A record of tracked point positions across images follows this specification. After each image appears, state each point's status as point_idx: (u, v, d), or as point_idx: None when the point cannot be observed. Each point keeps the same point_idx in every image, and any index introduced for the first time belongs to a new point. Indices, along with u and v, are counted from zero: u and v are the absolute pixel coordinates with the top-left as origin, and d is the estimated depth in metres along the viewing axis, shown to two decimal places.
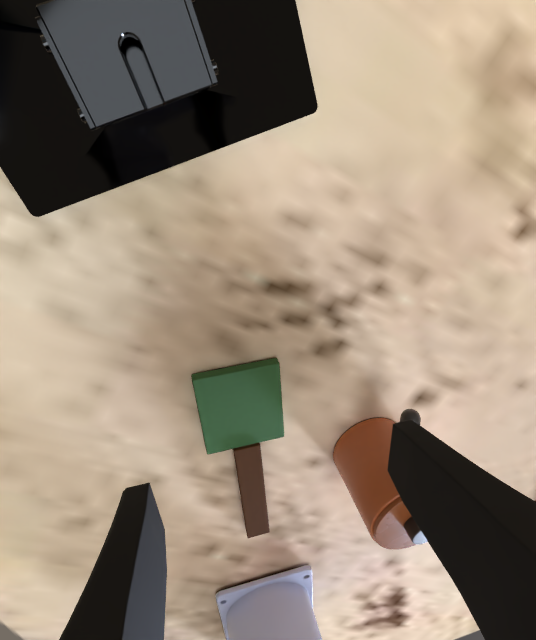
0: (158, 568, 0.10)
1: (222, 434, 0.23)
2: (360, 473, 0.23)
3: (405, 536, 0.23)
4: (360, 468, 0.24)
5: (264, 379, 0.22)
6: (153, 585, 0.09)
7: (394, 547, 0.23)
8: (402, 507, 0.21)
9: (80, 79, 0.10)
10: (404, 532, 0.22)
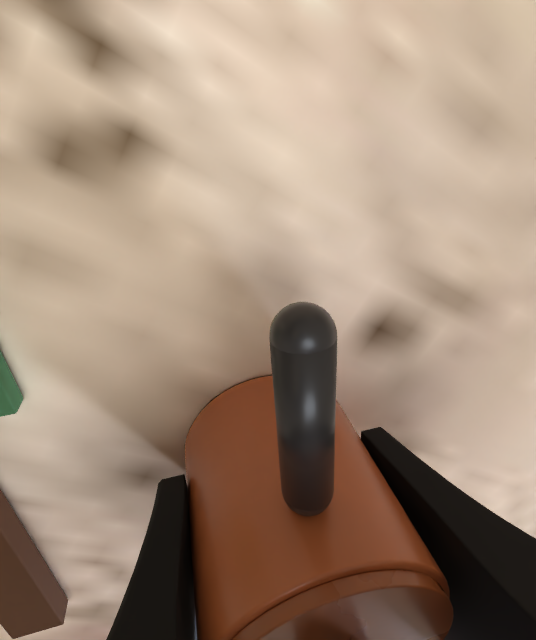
0: None
1: None
2: (204, 512, 0.09)
3: None
4: (206, 498, 0.09)
5: None
6: (192, 574, 0.09)
7: None
8: (287, 638, 0.06)
9: None
10: None
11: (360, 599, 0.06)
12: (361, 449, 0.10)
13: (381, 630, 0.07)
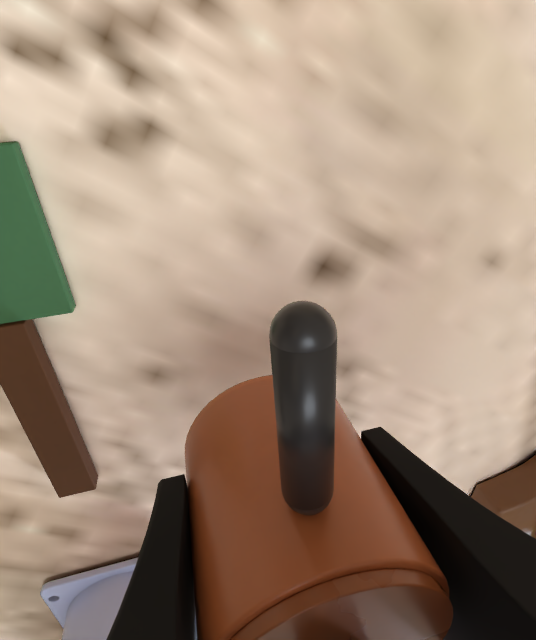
0: None
1: None
2: (204, 511, 0.09)
3: None
4: (206, 497, 0.09)
5: None
6: (192, 574, 0.09)
7: None
8: (287, 637, 0.06)
9: None
10: None
11: (360, 598, 0.06)
12: (361, 448, 0.10)
13: (381, 629, 0.07)
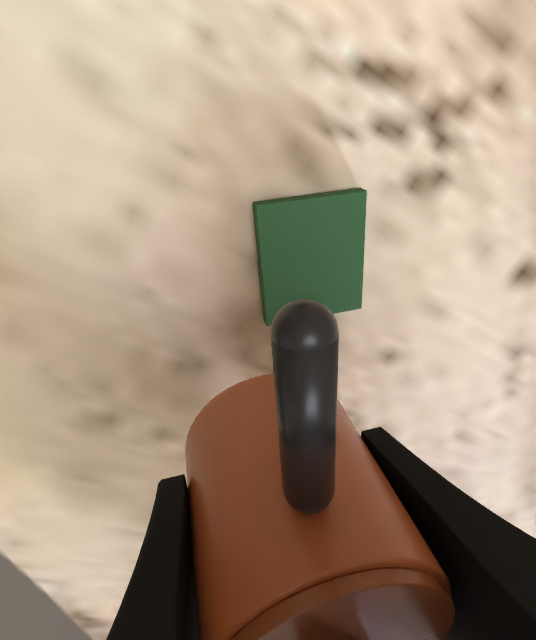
0: None
1: (287, 296, 0.18)
2: (204, 510, 0.09)
3: None
4: (207, 496, 0.09)
5: (346, 214, 0.16)
6: (192, 574, 0.09)
7: None
8: (288, 636, 0.06)
9: None
10: None
11: (361, 597, 0.06)
12: (362, 447, 0.10)
13: (382, 628, 0.07)
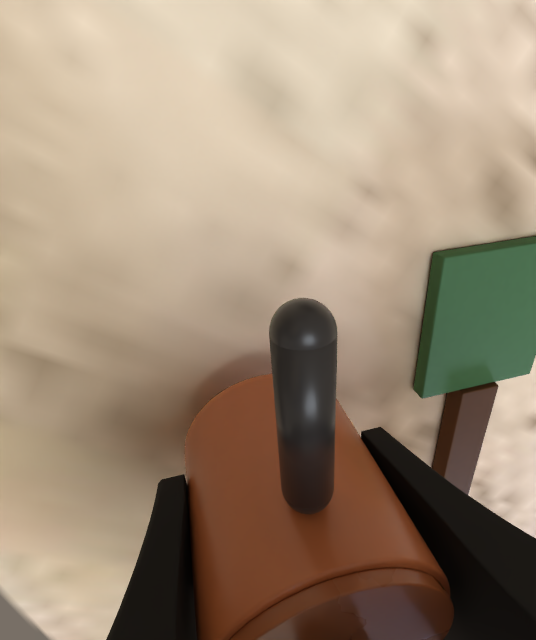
0: None
1: (452, 364, 0.14)
2: (203, 510, 0.09)
3: None
4: (206, 496, 0.09)
5: None
6: (192, 574, 0.09)
7: None
8: (287, 636, 0.06)
9: None
10: None
11: (360, 597, 0.06)
12: (361, 447, 0.10)
13: (381, 629, 0.07)
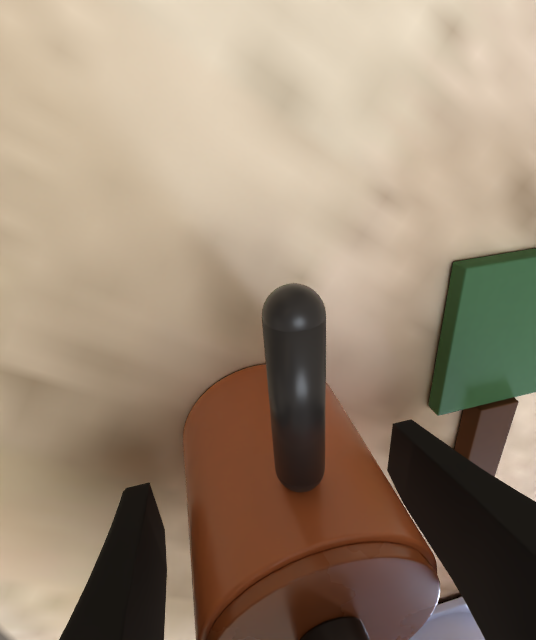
0: (158, 568, 0.10)
1: (471, 379, 0.13)
2: (201, 492, 0.09)
3: None
4: (204, 479, 0.09)
5: None
6: (153, 586, 0.09)
7: None
8: (279, 606, 0.07)
9: None
10: None
11: (348, 569, 0.07)
12: (353, 433, 0.10)
13: (370, 601, 0.07)
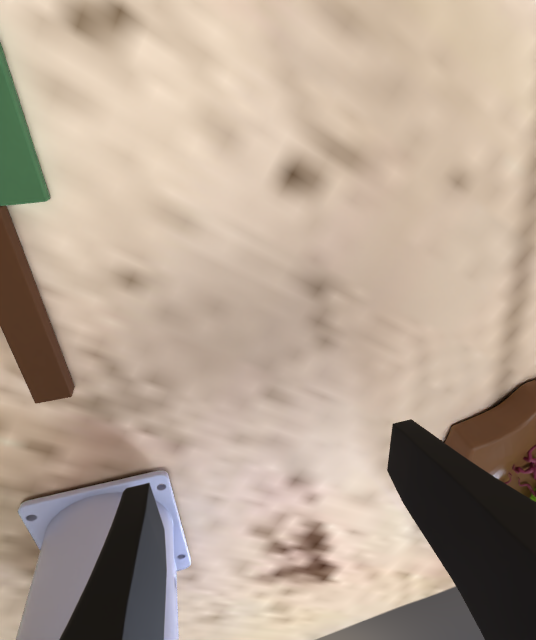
0: (158, 568, 0.10)
1: None
2: None
3: None
4: None
5: None
6: (153, 585, 0.09)
7: None
8: None
9: None
10: None
11: None
12: None
13: None
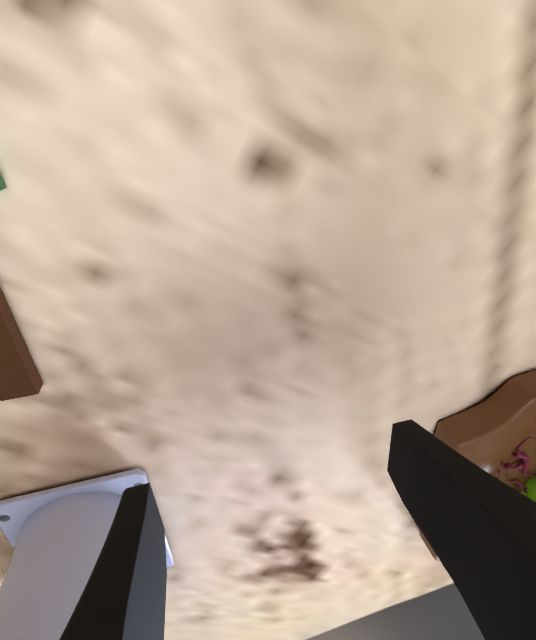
0: (158, 568, 0.10)
1: None
2: None
3: None
4: None
5: None
6: (153, 585, 0.09)
7: None
8: None
9: None
10: None
11: None
12: None
13: None
